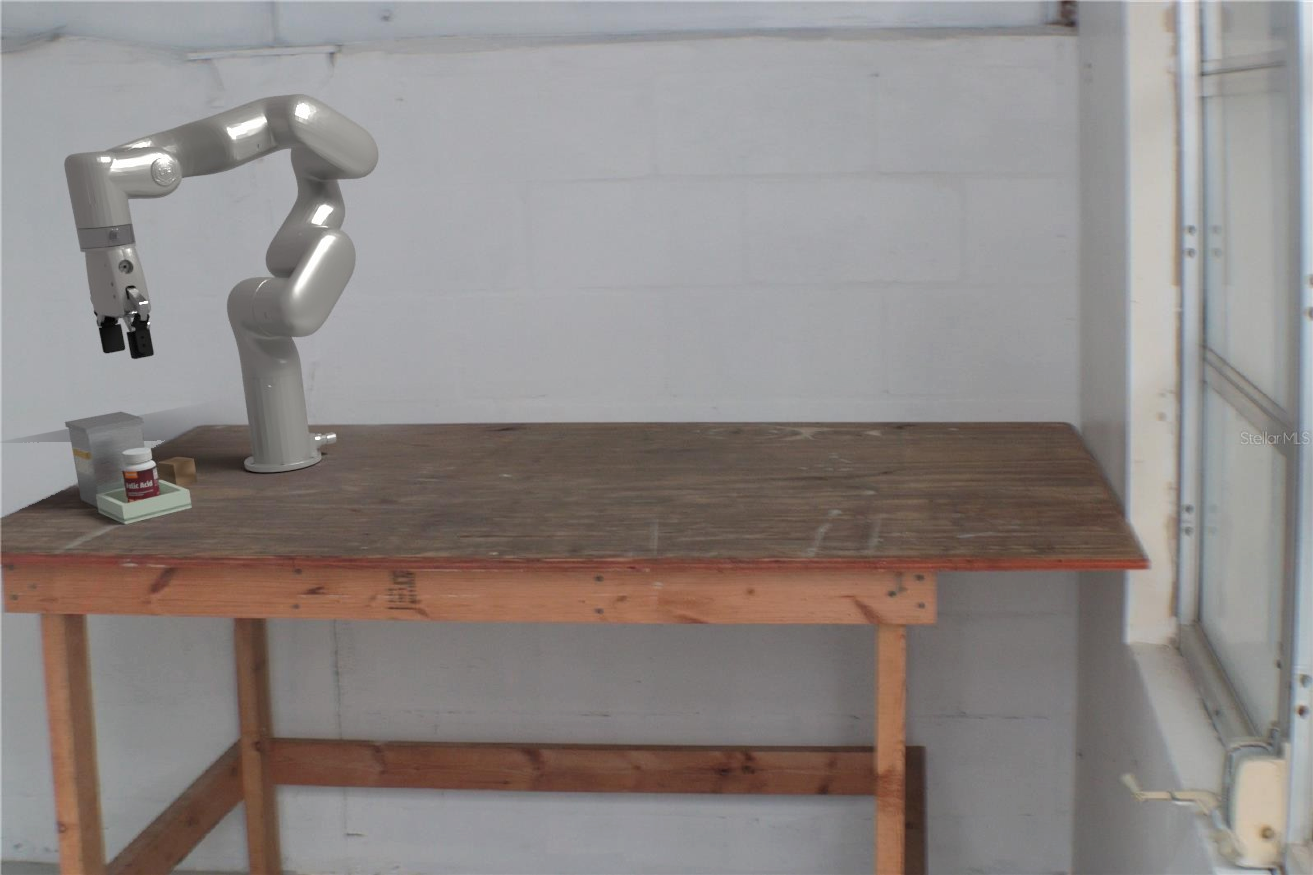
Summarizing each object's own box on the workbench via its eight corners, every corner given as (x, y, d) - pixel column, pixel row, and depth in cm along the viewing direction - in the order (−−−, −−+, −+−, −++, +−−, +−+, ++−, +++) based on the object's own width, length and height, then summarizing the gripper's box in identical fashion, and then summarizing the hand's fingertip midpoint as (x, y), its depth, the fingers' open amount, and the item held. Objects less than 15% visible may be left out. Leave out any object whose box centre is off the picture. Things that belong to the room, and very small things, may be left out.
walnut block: (180, 480, 200) (177, 456, 199) (197, 482, 198) (193, 458, 197) (160, 486, 197) (156, 462, 196) (177, 488, 195) (173, 464, 194)
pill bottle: (126, 511, 180) (117, 456, 178) (129, 502, 184) (121, 449, 182) (160, 506, 181) (151, 452, 179) (163, 498, 186) (154, 445, 184)
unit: (134, 487, 197) (122, 411, 194) (156, 495, 191) (144, 417, 188) (77, 500, 191) (64, 422, 188) (98, 509, 185) (85, 429, 182)
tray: (163, 496, 190) (161, 479, 189) (191, 507, 183) (189, 489, 182) (98, 512, 183) (95, 494, 182) (125, 524, 176) (122, 505, 175)
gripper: (158, 236, 173) (179, 354, 178) (107, 234, 185) (128, 345, 189) (105, 243, 168) (128, 364, 172) (57, 241, 180) (79, 354, 184)
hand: (128, 354), depth 181 cm, fingers open, 9 cm apart
